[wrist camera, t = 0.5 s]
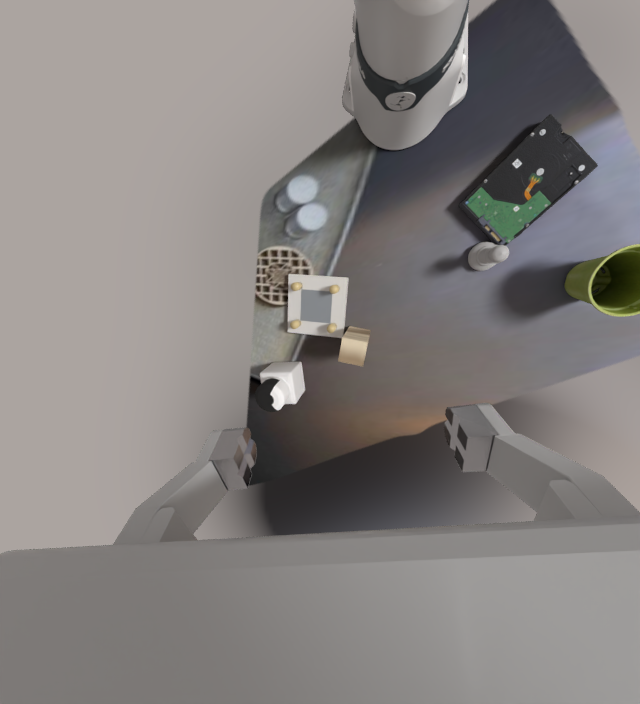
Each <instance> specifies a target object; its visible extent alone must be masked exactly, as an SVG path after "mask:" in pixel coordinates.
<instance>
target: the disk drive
mask: <svg viewBox="0 0 640 704" xmlns="http://www.w3.org/2000/svg"><path fill="white" fill-rule="evenodd" d="M561 132H562V129H561V124H560V123H559V122H558V121H557V120H556V119H555V118H554V117H553V115H552V114H550V115H549V116H548V117H546V118H545V119H544V120H543V121H542V122H541V123H540V124H539V125H538V126H537V127H536V128H535V129H534V130H533V131H532V132H531V133H530V134H529V135H528V136H527V137H526V138H525V139H524V140H523V141H522V142H521V143H520V144H519V145H518V146H517V147H516V148H515V149H514V150H513V151H512V152H511V153H510V154H509V155H508V156H507V157H506V158H505V160H503V161H502V162H501V163H500V164H499V165H498V166H497V167H496V168H495V169H494V170H493V171H492V172H491V174H489V175H488V176H487V178H485V180H483V181H482V182H481V183H480V184H479V185H478V186H477V187H476V188H475V189H474V190H473V191H472V192H471V193H470V194H469V195H468V196H467V197H466V198H465V199H464V200H463V201H462V202H461V203H460V204H459V207H460V208H461V209H462V210H463V211H464V212H465V213H466V214H467V215H468V216H469V218H470V219H471V220H472V221H473V222H474V223H475V224H476V225H477V226H478V227H479V228H480V229H481V230H482V231H483V232H484V233H485V234H486V235H487V236H488V238H489V239H490V240H491V241H492V242H493V243H494V244H496V245H504V246H505V245H507V244H508V243H509V242H510V241H512V240H513V239H514V238H516V237H517V236H519V235H520V234H521V233H522V232H523V231H524V230H525V229H526V228H527V227H529V226H530V225H531V224H532V223H533V222H534V221H535V220H537V219H538V218H539V217H540V216H541V215H542V214H544V213H545V212H546V211H547V210H548V209H549V208H550V207H552V206H553V205H554V204H555V203H556V202H557V201H558V200H559V199H561V198H562V197H563V196H564V195H565V194H566V193H568V192H569V191H570V190H571V189H572V188H573V187H574V186H576V185H577V184H578V183H579V182H581V181H582V180H583V179H584V178H585V177H586V176H588V175H589V173H591V172H592V171H593V170H594V169H595V168H596V167H597V166H598V165H597V163H596V162H595V161H594V160H593V159H592V158H591V157H590V156H589V155H588V154H587V153H586V152H585V151H584V149H583V148H582V147H581V146H580V145H579V144H578V143H577V142H576V140H575V139H574V138H573V137H572V136H570V135H567V134H565V133H561Z"/></svg>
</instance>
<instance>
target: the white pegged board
mask: <svg viewBox="0 0 640 704" xmlns="http://www.w3.org/2000/svg"><path fill="white" fill-rule="evenodd" d="M348 279H349V278H347V277H331V276H315V275H299V274H289V278H288V332H291V333H300V334H309V335H318V336H327V337H336V338H342V337H343V336H344V327H345V315H346V303H347V291H348Z"/></svg>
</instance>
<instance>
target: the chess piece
mask: <svg viewBox="0 0 640 704" xmlns="http://www.w3.org/2000/svg"><path fill="white" fill-rule="evenodd" d="M508 255H509V249H508V248H507V247H506V246H504V245H496V244H494V243H491V242H481V243H479V244H477V245H475V246H474V247H473V248H472V249H471V251H470V253H469V255H468V262H469V264H470V266H471V267H472V268H473V269H475V270H478V271H484V270H487V269H489V268H491V267H493V266H494V265H495V264H497V263H500V262H503V261H504V260H505V259H506V258H507V257H508Z"/></svg>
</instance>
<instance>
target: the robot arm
mask: <svg viewBox="0 0 640 704" xmlns="http://www.w3.org/2000/svg"><path fill="white" fill-rule="evenodd" d="M354 4H355V11H354V16H353V32H354V33H355V34H356V35H355V41H354V43H351V45H350V57H351V60H350V64H349V68H348V73H347V78H346V82H345V87H344V91H343V96H342V103H343V107H344V108H345V109H346V111H348V112H349V113H350V114H351V115H352V116H354V117H355V118H356V120H357V122H358V124H359V126H360V128H361V130H362V132H363V133H364V135H365V136H366V137H367V138H368V139H369V140H370V141H371V142H372V143H373V144H375V145H376V146H378V147H381V148H383V149H388V150H400V149H405V148H408V147H411V146H413V145H415V144H417V143H418V142H420V141H421V140H423V139H424V138H425V137H426V136H427V135H429V134H430V133H431V132H432V130H433V129H434V128H435V127H436V126H437V124H438V123H439V121H440V120H441V118H442V117H443V116H444V115H445V113H446V112H447V111H449V110H450V109H452V108H453V107H454V106H456V105H457V104H458V103H460V102H461V101H462V100H463V98H464V97H465V94H466V91H467V74H468V5H469V0H354ZM459 80H460V82H461V83H460V84H458V83H459ZM349 91H350V92H349ZM445 415H446V417H447V419H448V420H447V421H446V422H445V426H444V431H445V437H446V439H447V442H448V445H449V447H450V448H452V449H453V450H455V459H456V460H457V463H458V464H459V467H460V468H461V470H462V472H475V471H487V473H488V474H490V475H491V476H492V477H493V478H495V479H496V480H497V481H498V482H500V483H501V484H502V485H503V486H505V487H506V488H507V489H508V490H510V491H511V492H512V493H513V494H515V495H516V496H517V497H519V498H520V499H521V500H522V501H523V502H525V503H526V504H527V505H528V506H530V507H531V508H532V509H533V510H535V511H536V512H537V514H536V517H535V519H534V521H528V522H512V523H493V524H475V525H457V526H440V527H424V528H423V527H422V528H405V529H387V530H370V531H352V532H335V533H317V534H300V535H282V536H266V537H265V536H264V537H246V538H229V539H211V540H197V539H196V537H195V536H194V535H193V534H194V532H195V531H196V530H197V529H198V527H199V526H200V525H201V524H202V523H203V521H204V520H205V519H206V518H207V517H208V515H209V514H210V513H211V511H212V510H213V509H214V508H215V507H216V505H217V504H218V503H219V502H220V501H221V499H222V498H223V497H224V496H225V495H226V493H227V492H228V490H238V489H246V488H248V486H249V482H250V479H251V475H252V472H251V470H250V468H251V467H252V466H253V465H254V464H255V461H256V455H257V450H256V445H255V442H254V441H253V440H252V439H250V436H251V432H250V430H249V428H235V429H224V430H214V431H212V432H211V433H210V435H209V437H208V439H207V441H206V443H205V444H204V447H203V448H202V450H201V452H200V454H199V456H198V458H197V460H196V462H193V463H191V464H190V465H188V466H187V467H186V468H185V469H183V470H182V471H181V472H180V473H179V474H177V475H176V476H175V477H174V478H173V479H171V480H170V481H169V482H168V483H167V484H165V485H164V486H163V487H162V488H160V489H159V490H158V491H157V492H156V493H154V494H153V495H152V496H151V497H149V498H148V499H147V500H146V501H144V502H143V503H142V504H141V505H140V506H138V507H137V508H136V509H135V511H134V512H133V514H132V515H131V517H130V518H129V520H128V522H127V523H126V525H125V526H124V528H123V530H122V531H121V533H120V534H119V536H118V537H117V539H116V541H115V542H114V544H113V545H105V546H104V545H103V546H85V547H67V548H52V549H51V548H50V549H33V550H32V549H29V550H13V551H7V552H4V553H1V554H0V704H640V512H639V511H637V509H636V508H635V507H634V506H633V505H631V503H630V502H629V501H628V500H627V499H626V498H625V497H624V496H623V495H622V494H621V493H620V492H619V491H618V490H616V488H614V487H613V485H611V483H609V482H608V481H607V480H606V479H605V478H604V477H603V476H602V475H600V474H598V473H596V472H594V471H592V470H590V469H588V468H586V467H584V466H582V465H580V464H578V463H576V462H574V461H572V460H570V459H568V458H567V457H565V456H563V455H561V454H559V453H556V452H555V451H553V450H551V449H549V448H547V447H545V446H543V445H541V444H539V443H537V442H535V441H533V440H531V439H529V438H527V437H525V436H523V435H521V434H515V433H514V432H513V431H512V429H511V428H510V427H509V426H508V425H507V424H506V422H505V421H504V420H503V419H502V417H501V416H500V415H499V414H498V413H497V412H496V410H495V409H494V408H493V407H492V405H491V404H489V403H481V404H474V405H464V406H454V407H447V409H446V413H445Z"/></svg>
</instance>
